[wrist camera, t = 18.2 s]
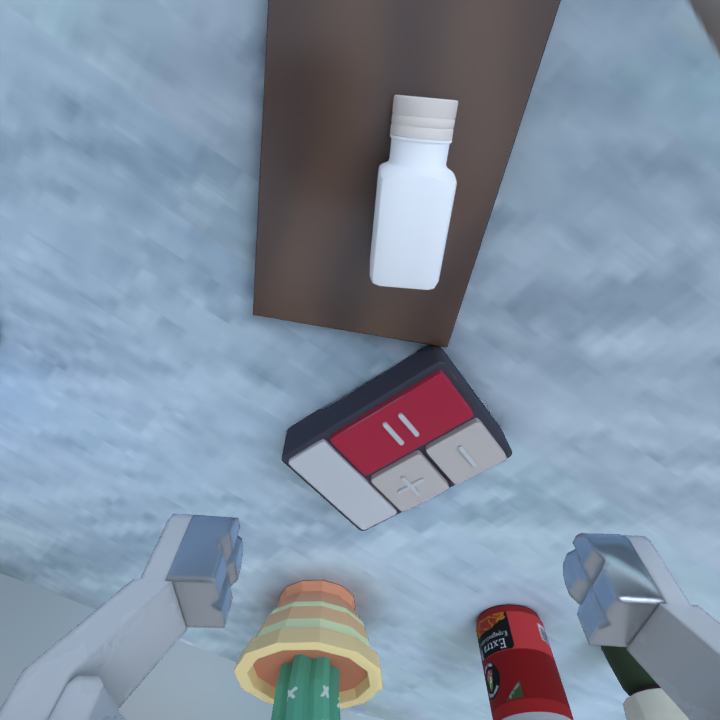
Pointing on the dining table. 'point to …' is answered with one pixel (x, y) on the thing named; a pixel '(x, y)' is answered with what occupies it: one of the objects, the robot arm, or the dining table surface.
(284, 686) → the potted cactus
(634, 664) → the trophy
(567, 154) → the dining table surface
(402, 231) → the pepper shaker
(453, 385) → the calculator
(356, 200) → the board
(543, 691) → the canned food
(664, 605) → the robot arm
